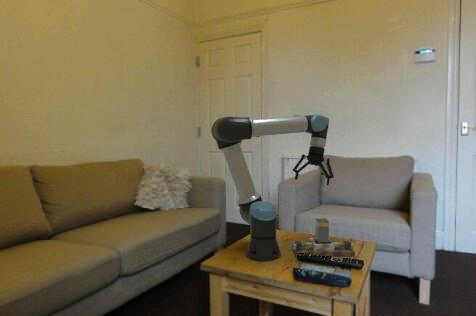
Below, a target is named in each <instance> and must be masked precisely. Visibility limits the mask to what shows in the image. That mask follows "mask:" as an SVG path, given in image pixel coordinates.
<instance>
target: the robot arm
mask: <svg viewBox="0 0 476 316" xmlns="http://www.w3.org/2000/svg"><path fill="white" fill-rule="evenodd" d="M329 125H330V118H328V117H327V116H325V115H323V114H312V115H311V114H310V115H301V114H294V115H292V116H282V117H281V116H280V117H266V118H251V117H248V116H247V117H241V116H223V117H219V118H217V119H216V120H215V121H214V122H213V123H212V126H211V128H210V129H211V131H210V132H211V135H212V138H213V139H214V140H215V142H216V144H217V148H218V150H219V151H222V152H223V155H224V158H225V161H226V163H227V166H228V168H229V171H230V175H231V178H232V180H233V184H234V186H235V188H236V192H237V194H238V197H239V198H238V200H237V204H238V207H239V214H240V217H241V219H242V220H243V221H244V222H246V223H247V224H248V226H250V228H249V229H250V230H249V231H250V233H249V234H250V237H249V242H248V245H247V249H246V257H247V258H248V259H251V260H254V261H257V262H269V261H270V262H271V261H275V260H278V259H279V258H280V257H281V248H280V246H279V243H278V238H277V215H278V212H277V207H276V205H275V204H273V203H272V202H268V201H265V200H263V198H262V195H261V193H260V192H257V190H256V188H255V185H254V181H253V178H252V176H251V174H250V169H249V166H248V164H247V161H246V158H245V155H244V152H243V149H242V146H241V144H242V143H243V141H246V140H252V138H253V137H264V136H275V135H287V134H296V133H297V134H298V133H299V134H300V133H306V134H311V136H310V142H309V149H308V155H306V154H301V157H300V159H299V160H298V162H297V163H296V164H295V166H294V167H293V168H292V172H294V173H295V176H294V180H296V183H295V187H297V188H298V187H299V183H300V177H301V172H302V170H304V169H305V168H306V167H308V165H310V166H316V167H319V168H320V169H321V171H322V172H323V174H324V177H325V178H324V181H323V187H322V188H323V189H322V192H326V190H327V186H328V185H329V184H330V179H333V178H334V177H335V176H334V173H333V170H332V167H331V161H330V160H331V159H330V158H325V150H326V149H325V148H326V144H327V136H328V132H329ZM306 159H307V161H306V162H305V163H304V164H303V165H302V166H301V167H299V166H300V165H301V164H302V163H303V161H304V160H306ZM323 162H324V163H325V164H326V168H325V167H324V164H323Z"/></svg>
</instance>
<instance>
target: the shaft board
mask: <svg viewBox="0 0 476 316" xmlns="http://www.w3.org/2000/svg"><path fill="white" fill-rule="evenodd" d="M353 249H354V244H353V243H352V242H351V241H350V240H343V242H336V241H335V242H333V240H332V239H330V238H329V244H316V237H315V238H313V237H312V238H311V237H310V238H309V242H303V243H302V241H301V240H295V243H291V250H292V252H293V255H294V257H295V258H298V257H297V255H298V254H299V253H308V254H315V255H325V256H332V257H331V258H333V257H340V258H341V257H342V258H344V257H345V258H347V257H351V258H352V257H355V256H356V255H355V254H356V251H354V250H353Z"/></svg>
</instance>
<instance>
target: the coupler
mask: <svg viewBox="0 0 476 316" xmlns="http://www.w3.org/2000/svg"><path fill="white" fill-rule="evenodd" d="M314 223H315V238H316V244H329V233H330V231H329V228H330V221H329V219H327V218H315V222H314Z"/></svg>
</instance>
